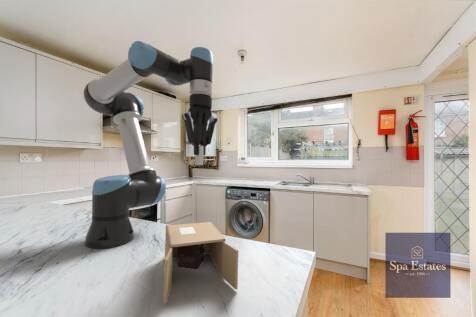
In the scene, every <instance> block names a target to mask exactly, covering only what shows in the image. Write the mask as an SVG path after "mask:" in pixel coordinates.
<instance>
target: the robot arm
mask: <svg viewBox="0 0 476 317" xmlns="http://www.w3.org/2000/svg"><path fill="white" fill-rule="evenodd" d="M127 53H128V54H127V59H125V60H124V61H123V62H121V63H119V64H118V65H117V66H115V67H114V68H113V69H111V70H110V71H109V72H107V73H106V74H104V75H103V76H102V77H100V78H97V79H96V78H95V79H92V80H91V81H89V82H88V83H87V84H86V85H85V87H84V89H83V99H84V101H85V102H86V104H87V106H88V107H89V108H90V109H92V110H93V111H95V112H97V113H99V114H103V115H108V116H111V118H112V122H113V123H114V124H116V125H117V126H118V129H119V134H120V138H121V143H122V146H123V151H124V156H125V161H126V164H127V168H128V172H129V173H127V174H117V175H108V176H107V175H106V176H104V177H99V178H97V179H95V180H94V181H93V184H92V191H91V196H92V197H91V198H92V200H91V201H92V203H91V211H92V212H91V222H90V225H89V228H88V230H87V233H86V236H85V239H84V241H85V242H84V244H85V246H86V247H88V248H91V249H107V248H108V249H109V248H115V247H119V246H121V245H124V244H127V243H129V242H131V241H132V240H133V239H134V233H135V232H134V229H133V226H132V222H131V220H130V209H134V208H138V207H139V208H140V207H144V206H145V207H146V206H151V205H155V204H158V203H160V202H161V201H162V200H163V198H164V197H165V194H166V188H167V187H166V182H165V180H164V178H162V176H160V175H157V171H156V170H155V169H154V168H152V167H151V164H150V161H149V156H148V153H147V149H146V145H145V141H144V137H143V134H142V130H141V126H140V121H141V119H142V117H143V115H144V109H145V107H144V102H143V100H142V99H141V97H139V96H138V95H136V94H133V93H131V92H127V91H126V90H128V89H129V88H132V87H133V86H135V85H137V84H138V83H140V82H142V81H144V79H146V78H148V77H150V76H152V75H156V76H158V77H162V78H164V80H165V81H166V82H167V83H168V84H169V85H171V86H175V87H176V86H182V85H185V84H188V83H189V94H190V95H189V101H188V102H189V108H188V111H187V112H185V113H182V114H181V118H182V119H183V122H184V127H185V132H186V136H187V142H188V144H191V145H192V146H193V156H195V159H194V160H195V166H204V156H205V155H206V151H207V150H206V146H208V145H211V143H212V139H213V135H214V131H215V128H216V127H215V126H216V124H217V122H218V118H217V117H215V116H213V113H212V107H213V97H212V95H213V71H214V70H213V68H214V61H213V52H212V50H210V49H208V48H207V47H204V46H196V47H194V48H192V49H191V51H190V55H189V56H190V57H188V58H186V59H183V60H179V59H177V58H176V57H173V56H171V55H170V54H167V53H165V52H163V51H162V50H160V49H158V48H156V47H155V46H153V45H151V44H150V43H146V42H143V41H141V40H135V41H134V42H132V44H131V46H130V47H129V48H128V52H127ZM125 91H126V92H125Z"/></svg>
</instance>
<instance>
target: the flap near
mask: <svg viewBox="0 0 476 317" xmlns="http://www.w3.org/2000/svg"><path fill="white" fill-rule="evenodd" d="M163 275H164V276H163V277H164V280H163V305H167V302H168V299H169V297H170V294H171V289H172V283H173V282H172V281H173V279H172V277H173V258H172V248H170V250H169V252H168V254H167V257H166V259H165V258H164V272H163Z"/></svg>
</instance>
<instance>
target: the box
mask: <svg viewBox="0 0 476 317" xmlns="http://www.w3.org/2000/svg"><path fill="white" fill-rule="evenodd" d="M204 249H205V244H196V245H188V246H179V247H178V257H177V266H176V267H177V268H178V269H179V268H180V269H188V270H195V271H196V270H198V269H199V268H200V267H201V266H202V264H203V263H204V262H205V254H204Z"/></svg>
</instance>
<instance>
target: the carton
mask: <svg viewBox="0 0 476 317" xmlns="http://www.w3.org/2000/svg"><path fill="white" fill-rule="evenodd" d="M223 242H226V238H225V236H224V235H223V234H222V233H221V232H220V230H219V229H218V228H217V227H216V226H215V225H214V224H213V222H212V221H203V222H201V221H200V222H191V223H178V224H167V225H165V242H164V243H165V244H164V245H165V246H164V249H165V250H164V260H165V259H166V257H167V254H168V252H169V250H170V248H172V259H175V258H176V259H178V247H179V246H188V245H196V244H205V249H204V255H207V254H208V255H209V256H210V259H211V260H212V262H213V264H214V266H215V267H216V269H217V271H218V273H219V275H220V276H221V278H222V279H223Z"/></svg>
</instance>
